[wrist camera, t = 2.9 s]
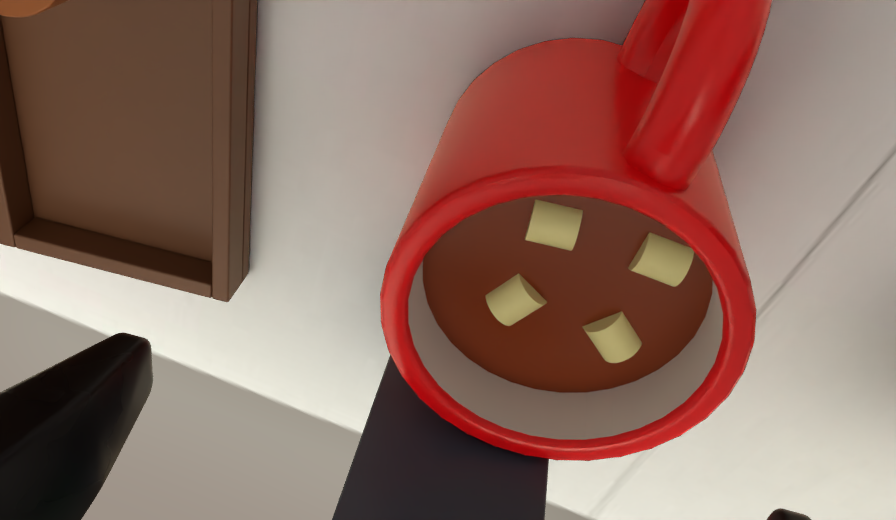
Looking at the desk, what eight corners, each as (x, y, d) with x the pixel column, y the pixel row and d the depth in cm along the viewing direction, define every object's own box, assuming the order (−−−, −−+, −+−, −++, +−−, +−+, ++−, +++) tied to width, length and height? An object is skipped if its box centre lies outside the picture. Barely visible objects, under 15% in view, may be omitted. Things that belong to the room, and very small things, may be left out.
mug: (861, -52, 18) (1014, 53, 11) (632, 310, 24) (644, 505, 18) (554, -177, 17) (528, -143, 11) (410, 226, 24) (341, 394, 18)
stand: (561, 283, 24) (538, 610, 15) (527, 381, 27) (489, 711, 18) (426, 249, 24) (320, 552, 15) (406, 350, 27) (304, 660, 18)
